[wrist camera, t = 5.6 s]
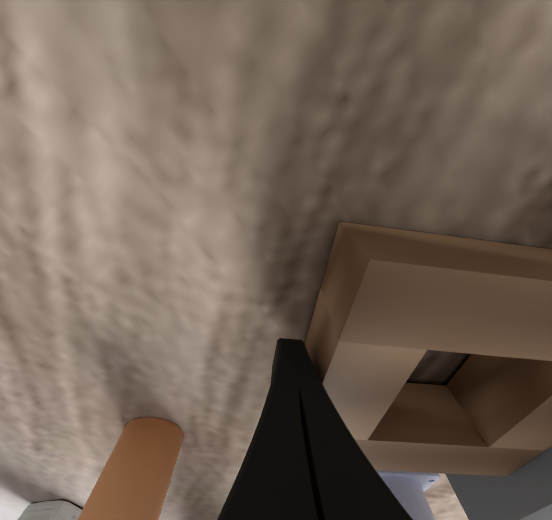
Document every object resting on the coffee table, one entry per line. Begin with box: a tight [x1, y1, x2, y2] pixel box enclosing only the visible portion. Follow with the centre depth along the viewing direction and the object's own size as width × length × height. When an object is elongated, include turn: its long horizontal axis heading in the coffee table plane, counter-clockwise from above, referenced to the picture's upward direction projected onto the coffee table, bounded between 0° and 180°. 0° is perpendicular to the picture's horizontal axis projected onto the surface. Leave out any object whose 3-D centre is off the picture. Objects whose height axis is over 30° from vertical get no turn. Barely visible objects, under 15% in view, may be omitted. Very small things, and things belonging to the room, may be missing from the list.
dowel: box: [77, 417, 184, 520], centre depth 12 cm, size 4×4×8 cm
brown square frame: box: [305, 221, 552, 476], centre depth 10 cm, size 12×12×3 cm
